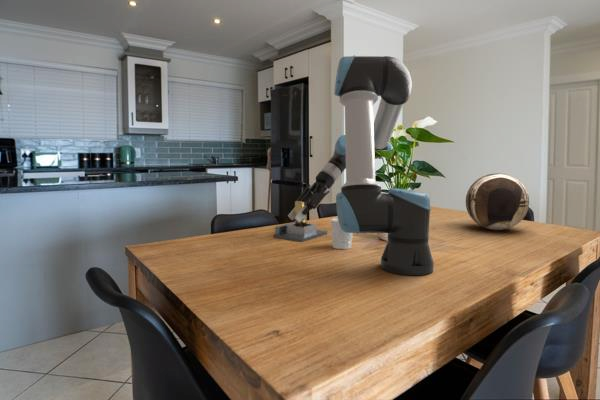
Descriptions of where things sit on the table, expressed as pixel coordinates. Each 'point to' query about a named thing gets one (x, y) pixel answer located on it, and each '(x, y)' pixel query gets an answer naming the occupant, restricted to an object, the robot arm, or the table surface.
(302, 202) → the bushing
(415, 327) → the table surface
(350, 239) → the white cup
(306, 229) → the jig
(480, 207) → the sphere
